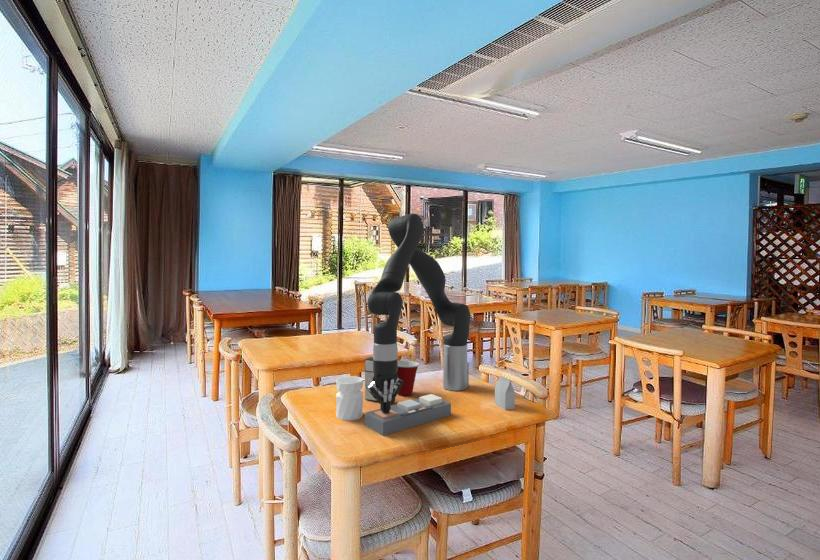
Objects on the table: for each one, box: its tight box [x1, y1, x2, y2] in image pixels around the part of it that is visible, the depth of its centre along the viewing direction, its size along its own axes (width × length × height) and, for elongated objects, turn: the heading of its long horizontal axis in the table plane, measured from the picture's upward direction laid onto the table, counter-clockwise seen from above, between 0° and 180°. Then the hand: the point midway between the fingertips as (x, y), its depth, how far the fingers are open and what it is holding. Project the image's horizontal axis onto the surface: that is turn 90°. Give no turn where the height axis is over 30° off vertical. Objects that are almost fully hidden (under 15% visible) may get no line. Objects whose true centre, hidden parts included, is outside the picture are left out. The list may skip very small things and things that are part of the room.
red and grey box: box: [364, 356, 396, 404], centre depth 168 cm, size 11×4×15 cm, turn 62°
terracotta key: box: [374, 410, 398, 419], centre depth 144 cm, size 5×5×3 cm
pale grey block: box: [494, 375, 516, 411], centre depth 162 cm, size 4×7×10 cm, turn 20°
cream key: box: [418, 393, 443, 406], centre depth 155 cm, size 5×5×3 cm
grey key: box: [396, 399, 421, 412], centre depth 149 cm, size 5×5×3 cm
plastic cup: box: [397, 360, 420, 397], centre depth 176 cm, size 11×11×12 cm
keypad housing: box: [364, 398, 452, 436], centre depth 150 cm, size 27×10×4 cm, turn 128°
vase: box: [335, 375, 364, 422], centre depth 153 cm, size 9×9×12 cm
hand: (385, 412), depth 144 cm, fingers closed
